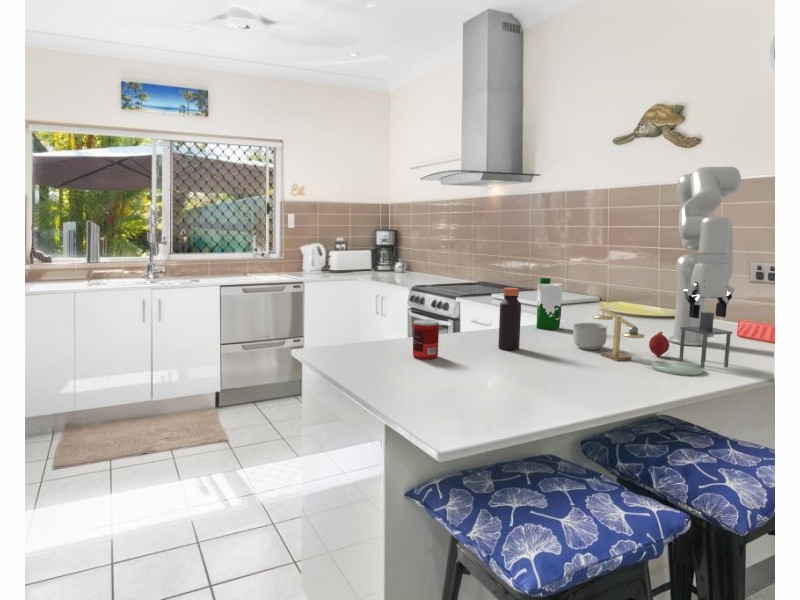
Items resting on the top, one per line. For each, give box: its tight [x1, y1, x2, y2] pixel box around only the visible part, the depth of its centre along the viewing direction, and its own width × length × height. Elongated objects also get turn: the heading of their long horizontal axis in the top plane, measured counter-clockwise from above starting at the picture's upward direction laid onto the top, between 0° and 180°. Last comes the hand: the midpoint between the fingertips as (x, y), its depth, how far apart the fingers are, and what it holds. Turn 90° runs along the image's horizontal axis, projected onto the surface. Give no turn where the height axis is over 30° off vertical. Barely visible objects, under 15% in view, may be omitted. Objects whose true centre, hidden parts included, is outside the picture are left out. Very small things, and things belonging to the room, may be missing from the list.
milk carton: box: [536, 277, 563, 331], centre depth 226 cm, size 9×9×20 cm
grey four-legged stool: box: [678, 311, 733, 370], centre depth 168 cm, size 10×10×16 cm
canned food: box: [412, 318, 440, 360], centre depth 172 cm, size 8×8×11 cm
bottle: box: [497, 287, 522, 352], centre depth 185 cm, size 7×7×20 cm
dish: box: [652, 359, 704, 376], centre depth 162 cm, size 13×13×1 cm
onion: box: [648, 331, 670, 357], centre depth 178 cm, size 6×6×8 cm
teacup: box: [572, 322, 608, 351], centre depth 191 cm, size 14×11×8 cm
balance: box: [592, 307, 645, 362], centre depth 175 cm, size 21×6×15 cm, turn 16°
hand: (707, 317), depth 168 cm, fingers open, 9 cm apart
